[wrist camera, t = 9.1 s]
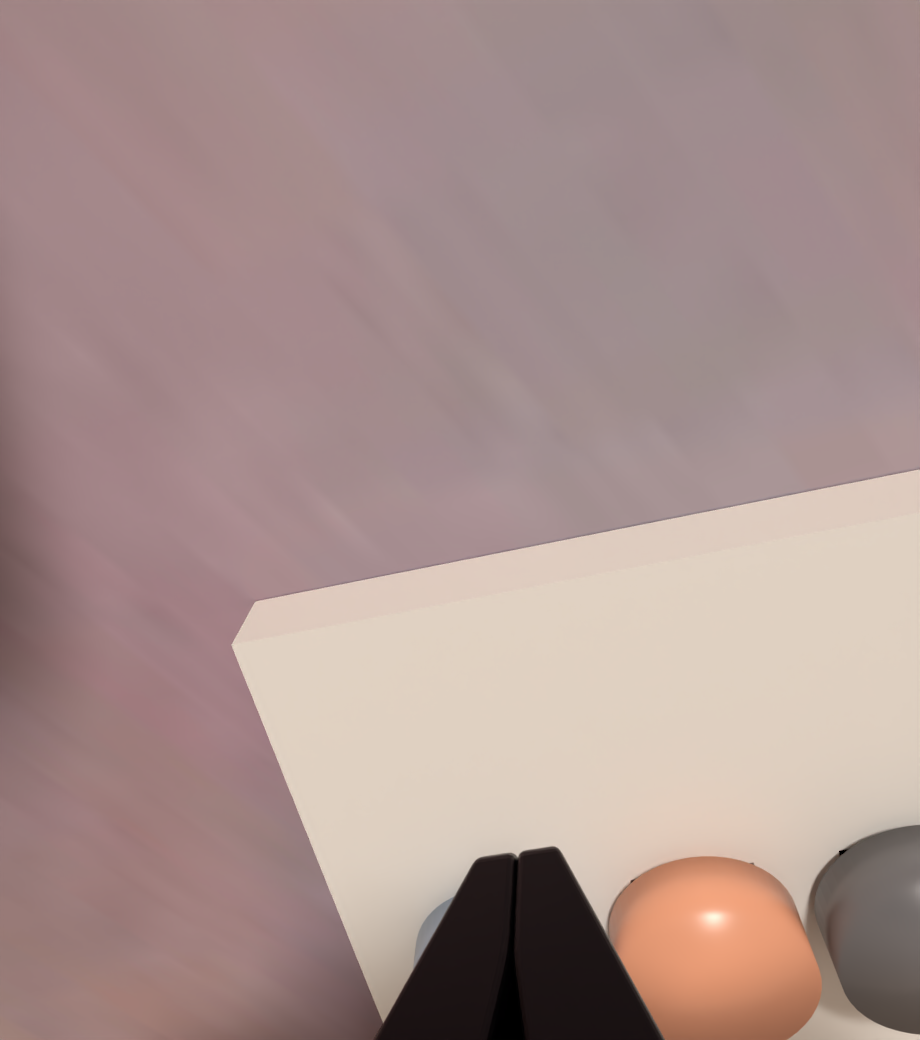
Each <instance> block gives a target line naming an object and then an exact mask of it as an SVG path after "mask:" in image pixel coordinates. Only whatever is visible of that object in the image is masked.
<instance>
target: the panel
mask: <svg viewBox="0 0 920 1040" xmlns="http://www.w3.org/2000/svg"><path fill="white" fill-rule="evenodd" d="M232 648H233V650H234V653H235V655H236V658H237V660H238V663H239V665H240V668H241V670H242V673H243V675H244V678H245V680H246V683H247V685H248V688H249V690H250V692H251V695H252V697H253V700H254V702H255V705H256V707H257V710H258V712H259V715H260V717H261V720H262V722H263V725H264V727H265V730H266V732H267V735H268V737H269V740H270V742H271V745H272V747H273V750H274V752H275V755H276V757H277V760H278V762H279V765H280V767H281V770H282V772H283V775H284V777H285V780H286V782H287V785H288V787H289V790H290V792H291V795H292V797H293V800H294V802H295V805H296V807H297V810H298V812H299V815H300V817H301V820H302V822H303V825H304V827H305V830H306V832H307V835H308V837H309V840H310V842H311V845H312V847H313V850H314V852H315V855H316V857H317V860H318V862H319V865H320V867H321V870H322V872H323V875H324V877H325V880H326V882H327V885H328V887H329V890H330V892H331V895H332V897H333V900H334V902H335V905H336V907H337V910H338V912H339V915H340V917H341V920H342V922H343V925H344V927H345V930H346V932H347V935H348V937H349V940H350V942H351V945H352V947H353V950H354V952H355V955H356V957H357V960H358V962H359V964H360V967H361V969H362V972H363V974H364V977H365V979H366V982H367V984H368V987H369V989H370V992H371V994H372V997H373V999H374V1002H375V1004H376V1007H377V1009H378V1012H379V1014H380V1017H381V1019H382V1022H383V1023H384V1021H385V1019H386V1017H387V1016H388V1014H389V1012H390V1010H391V1008H392V1007H393V1005H394V1003H395V1001H396V999H397V998H398V996H399V994H400V992H401V991H402V989H403V987H404V985H405V983H406V982H407V980H408V978H409V976H410V974H411V973H412V971H413V965H414V956H415V948H416V940H417V936H418V933H419V930H420V928H421V926H422V924H423V922H424V921H425V920H426V918H427V917H428V916H429V915H430V913H431V912H432V911H433V910H434V909H436V908H437V907H438V906H439V905H441V904H442V903H443V902H445V901H447V900H449V899H450V898H452V897H454V896H455V894H456V892H457V891H458V889H459V887H460V885H461V883H462V882H463V880H464V878H465V876H466V875H467V873H468V871H469V869H470V867H471V866H472V864H473V862H474V861H475V860H476V859H478V858H479V857H482V856H489V855H496V854H502V853H513V854H515V855H516V856H517V857H518V856H519V854H520V853H521V852H522V851H524V850H529V849H536V848H543V847H550V846H555V847H557V848H559V849H560V850H561V852H562V854H563V855H564V857H565V859H566V861H567V863H568V864H569V866H570V868H571V870H572V872H573V874H574V875H575V877H576V879H577V881H578V883H579V884H580V886H581V888H582V890H583V892H584V893H585V895H586V897H587V899H588V901H589V903H590V904H591V906H592V908H593V910H594V912H595V913H596V915H597V917H598V919H599V921H600V922H601V924H602V926H603V928H604V930H605V932H606V933H607V935H608V937H609V939H610V935H609V921H610V916H611V912H612V910H613V907H614V905H615V903H616V901H617V899H618V898H619V896H620V895H621V894H622V892H623V891H624V890H625V889H626V888H627V887H628V886H629V885H630V884H631V883H632V882H633V881H634V879H637V878H638V877H640V876H641V875H643V874H644V873H646V872H648V871H650V870H651V869H653V868H656V867H658V866H660V865H663V864H665V863H669V862H672V861H675V860H679V859H685V858H690V857H701V856H716V857H726V858H732V859H736V860H741V861H744V862H747V863H750V864H753V865H755V866H757V867H759V868H761V869H763V870H765V871H767V872H768V873H770V874H771V875H773V876H774V877H775V878H776V879H778V880H779V881H780V882H781V883H782V884H783V885H784V886H785V888H786V889H787V890H788V892H789V893H790V895H791V896H792V898H793V900H794V903H795V905H796V908H797V910H798V913H799V916H800V919H801V921H802V924H803V927H804V929H805V932H806V935H807V937H808V940H809V943H810V946H811V948H812V951H813V954H814V956H815V959H816V962H817V964H818V967H819V970H820V974H821V979H822V991H821V997H820V1000H819V1003H818V1006H817V1008H816V1010H815V1012H814V1014H813V1015H812V1017H811V1018H810V1019H809V1021H808V1022H807V1023H806V1024H805V1025H804V1026H803V1027H802V1028H801V1029H800V1030H799V1031H798V1032H797V1033H796V1034H794V1035H793V1036H792V1037H790V1038H789V1039H787V1040H920V1035H919V1034H910V1033H905V1032H900V1031H896V1030H893V1029H890V1028H886V1027H884V1026H882V1025H880V1024H877V1023H875V1022H873V1021H872V1020H870V1019H868V1018H867V1017H865V1016H864V1015H863V1014H861V1013H860V1012H859V1011H858V1010H857V1009H856V1008H855V1007H854V1006H853V1005H852V1004H851V1003H850V1001H849V1000H848V998H847V996H846V995H845V993H844V990H843V988H842V985H841V983H840V980H839V978H838V975H837V972H836V970H835V967H834V965H833V962H832V960H831V957H830V955H829V952H828V949H827V947H826V944H825V942H824V939H823V937H822V934H821V931H820V929H819V926H818V924H817V921H816V916H815V908H814V902H815V896H816V892H817V889H818V886H819V883H820V881H821V880H822V878H823V876H824V874H825V873H826V871H827V870H828V869H829V867H830V866H831V865H832V864H833V863H834V862H835V861H836V860H837V859H838V858H839V857H840V856H839V850H846V849H850V848H852V847H853V846H855V845H856V844H858V843H860V842H861V841H863V840H865V839H867V838H869V837H872V836H874V835H877V834H879V833H882V832H885V831H888V830H892V829H895V828H900V827H905V826H913V825H920V470H915V471H910V472H905V473H899V474H894V475H889V476H884V477H879V478H874V479H869V480H864V481H859V482H854V483H849V484H844V485H839V486H834V487H829V488H824V489H819V490H814V491H809V492H804V493H799V494H794V495H789V496H784V497H779V498H774V499H769V500H764V501H759V502H754V503H749V504H744V505H739V506H734V507H729V508H723V509H718V510H713V511H708V512H703V513H698V514H693V515H688V516H683V517H678V518H673V519H668V520H663V521H658V522H653V523H648V524H643V525H638V526H633V527H628V528H623V529H618V530H613V531H608V532H603V533H598V534H593V535H588V536H583V537H578V538H573V539H568V540H563V541H558V542H553V543H548V544H542V545H537V546H532V547H527V548H522V549H517V550H512V551H507V552H502V553H497V554H492V555H487V556H482V557H477V558H472V559H467V560H462V561H457V562H452V563H447V564H442V565H437V566H432V567H427V568H422V569H417V570H412V571H407V572H402V573H397V574H392V575H387V576H382V577H377V578H372V579H367V580H361V581H356V582H351V583H346V584H341V585H336V586H331V587H326V588H321V589H316V590H311V591H306V592H301V593H296V594H291V595H286V596H281V597H276V598H271V599H266V600H261V601H256V602H255V603H254V605H253V607H252V609H251V610H250V612H249V614H248V616H247V618H246V619H245V621H244V623H243V625H242V627H241V629H240V630H239V632H238V634H237V636H236V638H235V640H234V641H233V643H232Z"/></svg>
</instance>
